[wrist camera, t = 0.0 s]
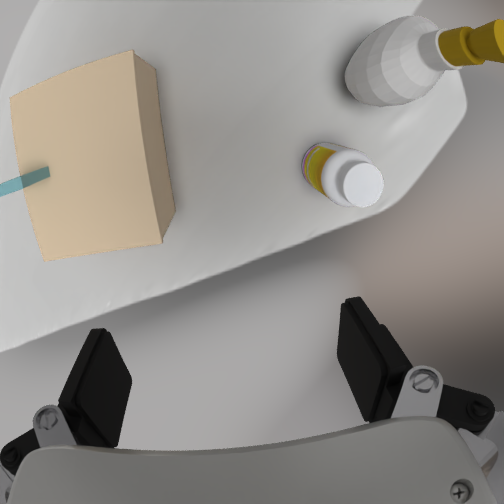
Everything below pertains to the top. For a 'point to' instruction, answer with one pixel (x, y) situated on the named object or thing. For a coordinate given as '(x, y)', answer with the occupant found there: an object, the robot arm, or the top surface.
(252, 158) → the top surface
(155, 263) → the top surface
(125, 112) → the lid
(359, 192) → the supplement bottle
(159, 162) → the carton
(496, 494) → the robot arm
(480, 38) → the soap bottle
